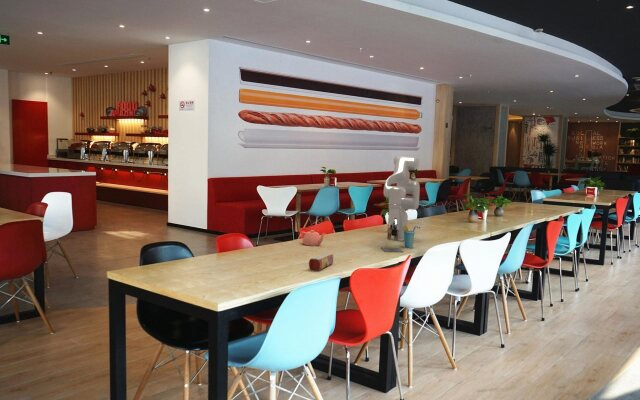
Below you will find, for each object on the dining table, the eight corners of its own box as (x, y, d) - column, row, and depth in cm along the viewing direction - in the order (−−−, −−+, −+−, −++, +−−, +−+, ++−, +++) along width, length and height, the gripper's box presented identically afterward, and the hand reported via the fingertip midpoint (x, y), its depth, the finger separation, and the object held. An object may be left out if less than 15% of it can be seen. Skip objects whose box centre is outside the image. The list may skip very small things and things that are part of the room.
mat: (381, 248, 365) (381, 247, 365) (399, 248, 366) (399, 247, 366) (384, 251, 353) (384, 251, 353) (403, 252, 354) (403, 251, 354)
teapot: (305, 241, 375) (306, 227, 374) (329, 245, 366) (330, 230, 365) (296, 244, 365) (296, 229, 364) (320, 247, 356) (321, 233, 355)
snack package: (322, 263, 312) (323, 251, 311) (334, 264, 310) (334, 252, 309) (308, 270, 292) (308, 257, 292) (319, 272, 290) (320, 259, 289)
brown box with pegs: (386, 239, 361) (387, 228, 361) (396, 239, 362) (396, 228, 361) (388, 240, 355) (389, 229, 355) (398, 240, 356) (398, 229, 355)
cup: (421, 248, 370) (423, 225, 369) (415, 249, 364) (417, 226, 363) (403, 245, 379) (404, 223, 378) (397, 246, 373) (398, 224, 372)
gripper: (386, 205, 365) (384, 232, 367) (391, 207, 348) (389, 236, 349) (397, 205, 366) (395, 233, 367) (403, 208, 349) (401, 237, 350)
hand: (392, 234), depth 358 cm, fingers closed on brown box with pegs, 6 cm apart
